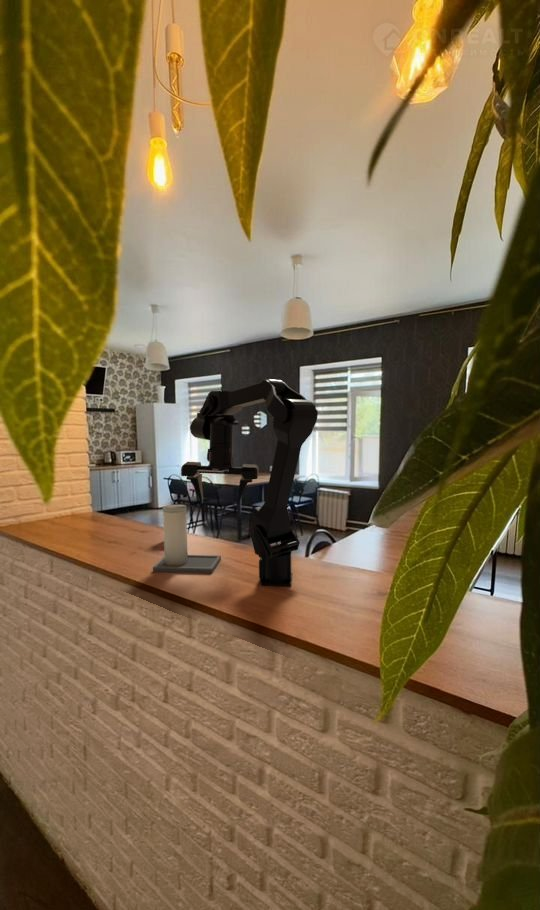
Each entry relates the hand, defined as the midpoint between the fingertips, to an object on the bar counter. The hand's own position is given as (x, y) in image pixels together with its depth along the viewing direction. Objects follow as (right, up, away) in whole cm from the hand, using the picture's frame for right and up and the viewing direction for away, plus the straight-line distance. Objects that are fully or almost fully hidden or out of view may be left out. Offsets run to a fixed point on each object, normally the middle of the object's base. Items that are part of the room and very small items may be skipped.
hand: (219, 503), depth 101 cm
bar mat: (-7, -14, -5) cm, 17 cm away
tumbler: (-10, -14, -5) cm, 17 cm away
